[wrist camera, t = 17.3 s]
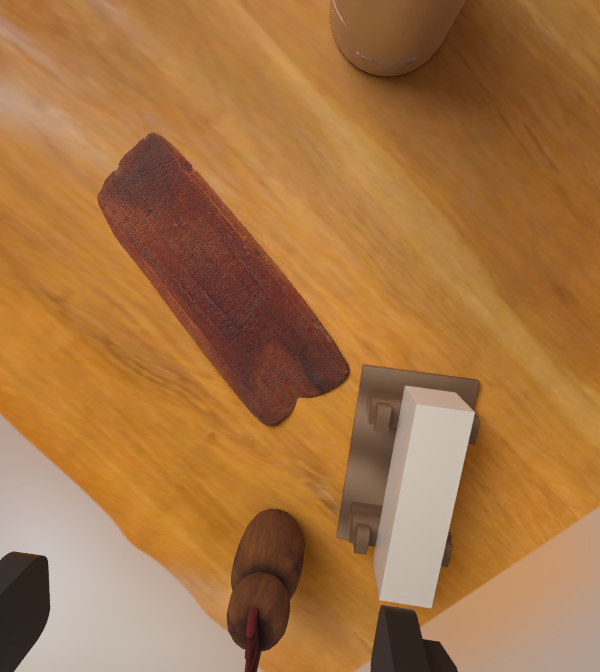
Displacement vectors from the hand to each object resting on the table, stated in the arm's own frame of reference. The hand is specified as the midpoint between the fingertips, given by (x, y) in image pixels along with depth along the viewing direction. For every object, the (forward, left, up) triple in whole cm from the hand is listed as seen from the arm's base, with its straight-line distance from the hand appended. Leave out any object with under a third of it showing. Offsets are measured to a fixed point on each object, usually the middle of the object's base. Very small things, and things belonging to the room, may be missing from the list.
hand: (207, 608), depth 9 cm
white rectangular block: (+9, +11, -23) cm, 27 cm away
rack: (+9, +11, -27) cm, 30 cm away
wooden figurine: (+18, 0, -27) cm, 32 cm away
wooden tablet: (-5, -7, -27) cm, 29 cm away
